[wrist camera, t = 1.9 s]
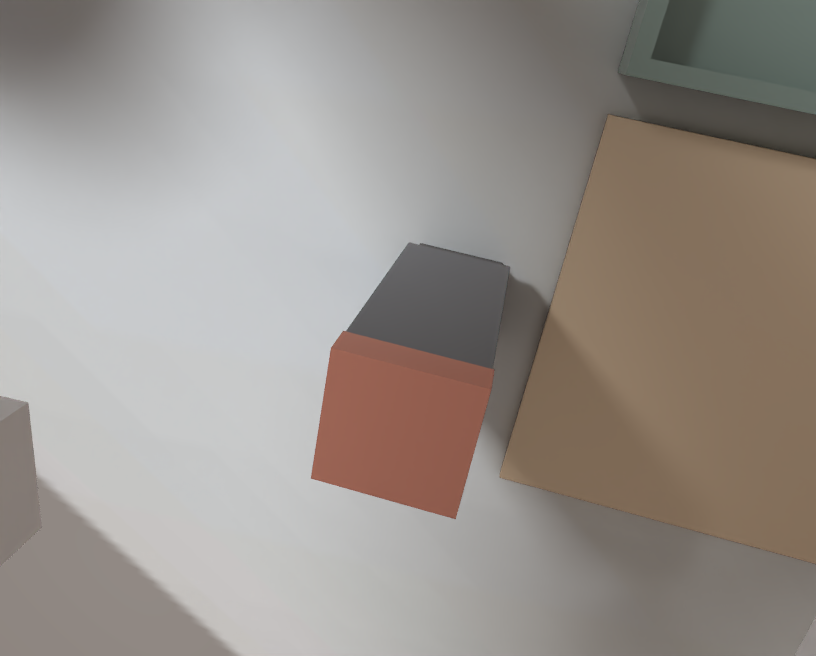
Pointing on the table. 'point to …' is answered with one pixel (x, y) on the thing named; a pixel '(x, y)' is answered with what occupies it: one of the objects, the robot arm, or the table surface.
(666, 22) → the tray
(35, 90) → the table surface
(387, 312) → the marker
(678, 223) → the tan board
